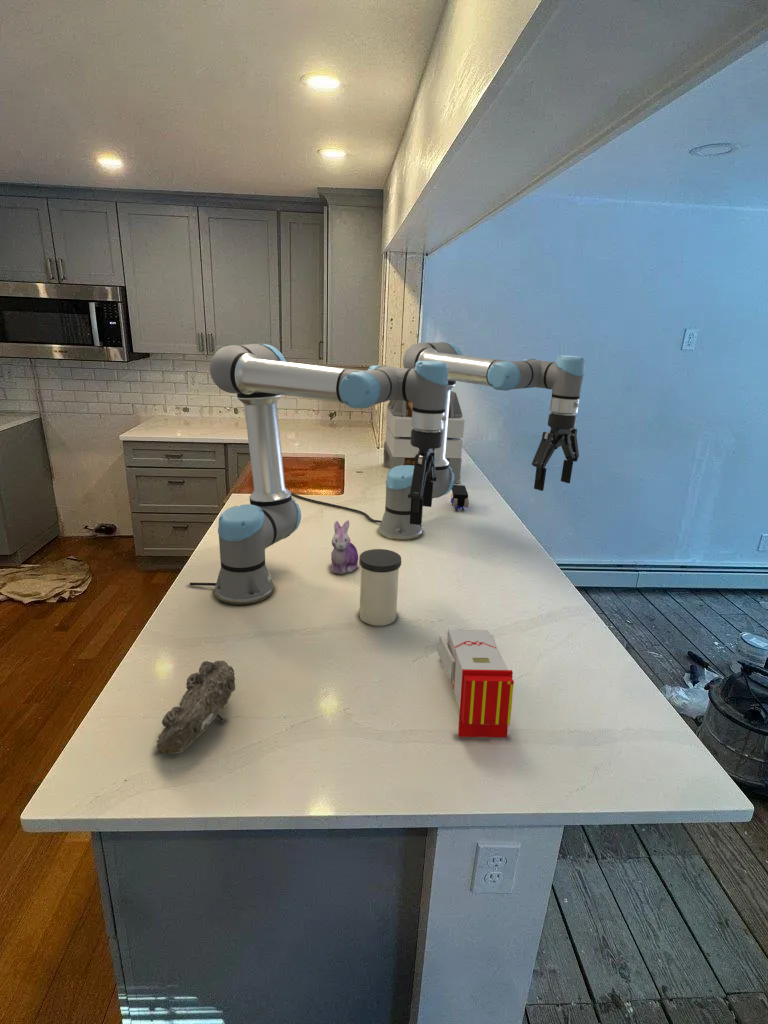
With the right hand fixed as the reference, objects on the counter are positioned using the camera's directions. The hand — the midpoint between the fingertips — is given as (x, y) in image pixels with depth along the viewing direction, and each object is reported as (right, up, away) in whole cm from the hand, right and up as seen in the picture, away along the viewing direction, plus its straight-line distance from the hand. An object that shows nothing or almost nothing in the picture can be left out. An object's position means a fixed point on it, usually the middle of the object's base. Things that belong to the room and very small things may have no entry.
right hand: (552, 485), depth 166 cm
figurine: (-61, -25, +6) cm, 66 cm away
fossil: (-83, -47, -58) cm, 112 cm away
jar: (-51, -34, -19) cm, 64 cm away
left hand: (-40, -8, -26) cm, 48 cm away
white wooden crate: (-32, +11, +109) cm, 115 cm away
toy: (-31, -45, -47) cm, 72 cm away
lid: (-50, -19, -25) cm, 59 cm away
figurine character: (-19, -6, +64) cm, 67 cm away
